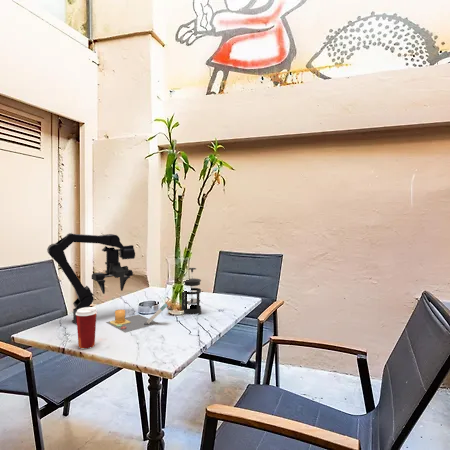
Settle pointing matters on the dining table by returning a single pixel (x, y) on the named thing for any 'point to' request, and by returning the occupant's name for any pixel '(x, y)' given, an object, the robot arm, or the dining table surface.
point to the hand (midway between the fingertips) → (112, 292)
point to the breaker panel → (132, 323)
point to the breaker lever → (157, 313)
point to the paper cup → (86, 326)
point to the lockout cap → (120, 316)
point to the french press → (193, 308)
